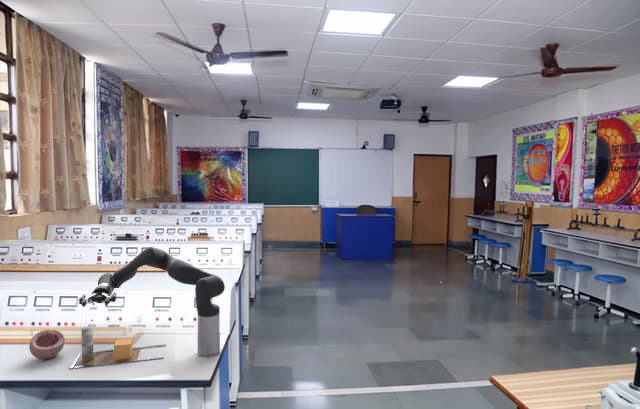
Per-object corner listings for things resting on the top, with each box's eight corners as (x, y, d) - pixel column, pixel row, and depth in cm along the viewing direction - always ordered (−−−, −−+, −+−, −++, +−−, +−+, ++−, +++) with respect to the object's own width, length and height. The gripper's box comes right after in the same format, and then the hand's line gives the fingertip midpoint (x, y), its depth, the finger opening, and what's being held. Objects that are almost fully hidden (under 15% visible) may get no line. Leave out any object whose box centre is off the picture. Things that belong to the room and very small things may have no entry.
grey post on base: (140, 351, 168) (140, 319, 167) (137, 362, 158) (137, 328, 157) (82, 358, 161) (82, 324, 160) (75, 369, 151) (75, 334, 150)
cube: (132, 351, 165) (132, 338, 164) (130, 358, 159) (130, 344, 159) (116, 353, 163) (116, 339, 163) (113, 360, 157) (113, 345, 157)
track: (165, 348, 173) (165, 344, 173) (163, 362, 160) (163, 357, 160) (78, 357, 162) (78, 353, 162) (69, 373, 149) (69, 368, 149)
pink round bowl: (35, 367, 153) (34, 339, 152) (25, 358, 160) (24, 331, 159) (69, 356, 162) (69, 330, 162) (58, 348, 170) (57, 323, 169)
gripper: (85, 285, 181) (75, 296, 166) (119, 284, 186) (113, 294, 171) (85, 301, 182) (76, 313, 167) (119, 299, 187) (113, 310, 171)
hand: (94, 303), depth 169 cm, fingers open, 8 cm apart
